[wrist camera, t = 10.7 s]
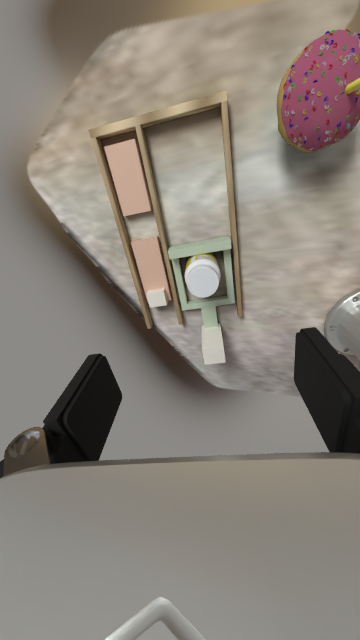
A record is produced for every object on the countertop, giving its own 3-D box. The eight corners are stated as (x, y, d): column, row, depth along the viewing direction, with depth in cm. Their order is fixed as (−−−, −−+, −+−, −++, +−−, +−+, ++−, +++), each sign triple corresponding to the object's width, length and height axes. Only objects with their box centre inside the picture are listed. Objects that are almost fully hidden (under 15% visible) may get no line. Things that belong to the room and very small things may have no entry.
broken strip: (136, 140, 28) (131, 136, 26) (172, 298, 38) (170, 304, 36) (106, 148, 29) (99, 144, 27) (149, 302, 39) (146, 308, 37)
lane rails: (225, 96, 26) (226, 90, 24) (241, 312, 39) (242, 316, 37) (93, 133, 28) (88, 130, 27) (149, 324, 41) (147, 328, 40)
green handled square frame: (228, 235, 33) (234, 245, 27) (237, 335, 41) (243, 360, 34) (170, 246, 34) (163, 257, 28) (189, 341, 42) (187, 366, 36)
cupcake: (359, 60, 24) (485, -46, 13) (329, 159, 28) (407, 138, 17) (276, 58, 24) (334, -48, 14) (258, 156, 28) (293, 133, 18)
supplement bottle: (196, 284, 37) (195, 307, 30) (180, 259, 35) (175, 276, 28) (223, 269, 35) (228, 289, 28) (208, 242, 34) (210, 256, 26)
